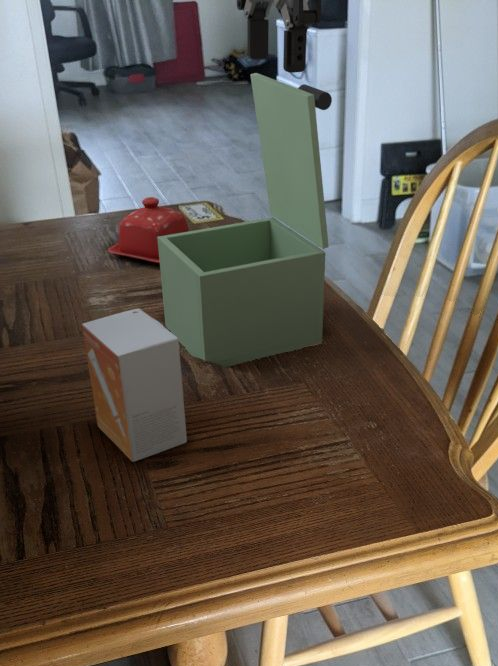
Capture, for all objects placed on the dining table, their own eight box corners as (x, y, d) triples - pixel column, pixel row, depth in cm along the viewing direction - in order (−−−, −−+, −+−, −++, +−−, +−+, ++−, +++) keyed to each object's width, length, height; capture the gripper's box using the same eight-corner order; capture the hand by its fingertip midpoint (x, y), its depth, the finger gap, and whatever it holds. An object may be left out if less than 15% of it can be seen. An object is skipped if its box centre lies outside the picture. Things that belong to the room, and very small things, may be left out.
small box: (98, 437, 81) (79, 322, 74) (152, 418, 84) (139, 306, 76) (133, 475, 76) (117, 355, 68) (190, 453, 79) (180, 336, 71)
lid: (307, 96, 80) (351, 83, 81) (250, 74, 90) (289, 63, 91) (322, 249, 90) (361, 235, 92) (270, 214, 100) (305, 202, 102)
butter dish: (103, 258, 121) (96, 202, 116) (148, 235, 129) (142, 182, 124) (164, 271, 117) (158, 214, 112) (206, 247, 125) (203, 193, 120)
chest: (205, 372, 92) (199, 276, 85) (165, 326, 102) (157, 236, 95) (322, 344, 98) (325, 252, 91) (273, 303, 108) (273, 217, 101)
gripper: (211, -128, 77) (216, 57, 87) (277, -132, 67) (274, 79, 76) (279, -126, 80) (276, 53, 89) (352, -129, 69) (340, 74, 79)
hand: (275, 65), depth 83 cm, fingers open, 8 cm apart
